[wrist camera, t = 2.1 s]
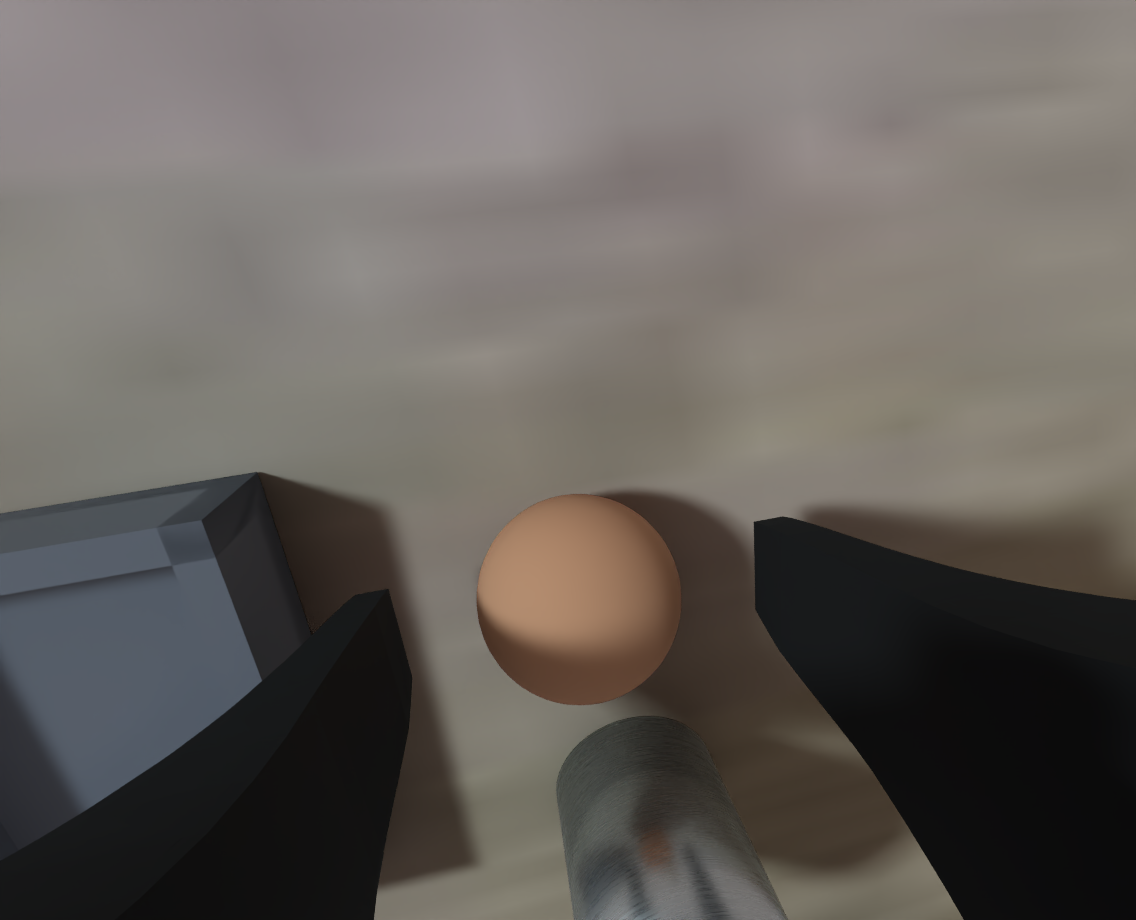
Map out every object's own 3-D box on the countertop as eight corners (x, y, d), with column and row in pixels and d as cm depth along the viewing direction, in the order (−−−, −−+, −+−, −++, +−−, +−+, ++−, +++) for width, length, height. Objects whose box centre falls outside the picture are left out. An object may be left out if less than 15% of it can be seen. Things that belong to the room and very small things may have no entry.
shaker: (716, 821, 16) (865, 1168, 10) (564, 858, 16) (617, 1243, 10) (710, 697, 15) (879, 1011, 9) (541, 733, 15) (586, 1093, 8)
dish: (383, 852, 15) (365, 955, 13) (65, 925, 14) (-14, 1048, 12) (257, 472, 11) (201, 519, 9) (-178, 542, 11) (-357, 614, 8)
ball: (654, 606, 14) (718, 729, 10) (493, 637, 13) (498, 777, 10) (641, 453, 12) (709, 529, 9) (462, 483, 12) (452, 577, 8)
